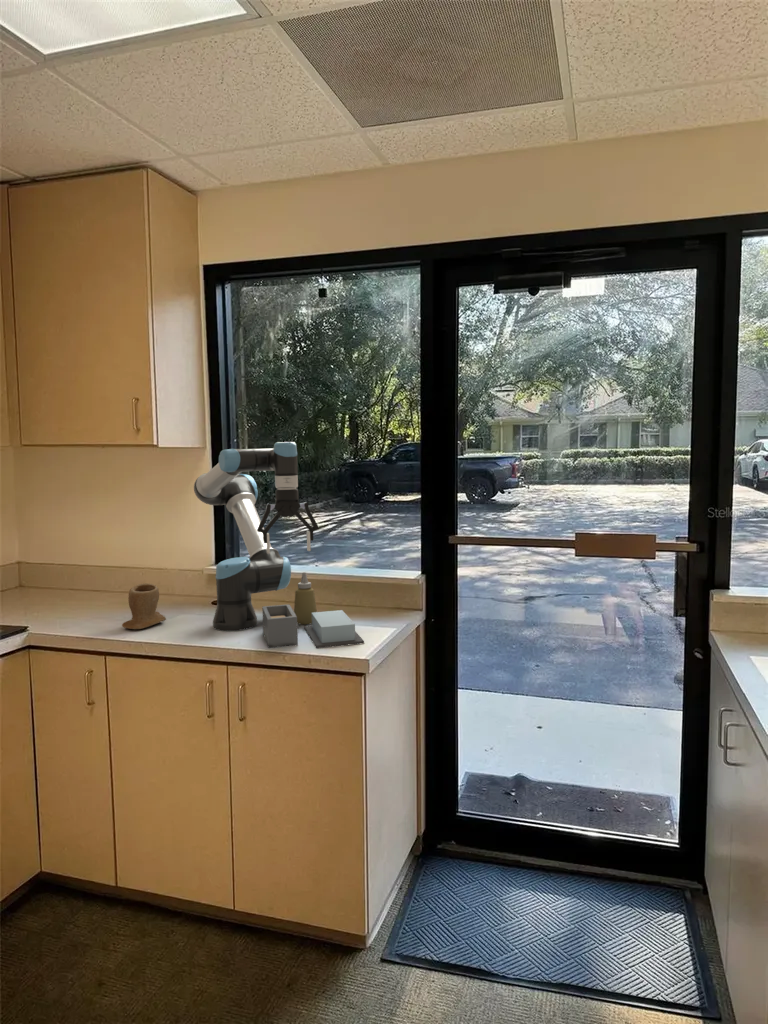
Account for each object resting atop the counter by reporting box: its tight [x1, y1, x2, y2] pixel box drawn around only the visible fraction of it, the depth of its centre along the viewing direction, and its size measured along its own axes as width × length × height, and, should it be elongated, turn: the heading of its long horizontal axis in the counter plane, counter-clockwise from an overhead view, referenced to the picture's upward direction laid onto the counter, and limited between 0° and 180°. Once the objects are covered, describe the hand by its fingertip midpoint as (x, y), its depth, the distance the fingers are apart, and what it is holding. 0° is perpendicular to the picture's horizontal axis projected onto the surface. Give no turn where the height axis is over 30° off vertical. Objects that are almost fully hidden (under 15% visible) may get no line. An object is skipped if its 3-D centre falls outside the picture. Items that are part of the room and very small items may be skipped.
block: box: [311, 609, 356, 643], centre depth 212 cm, size 20×11×5 cm, turn 15°
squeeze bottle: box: [293, 571, 318, 626], centre depth 228 cm, size 8×8×18 cm
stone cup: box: [121, 583, 166, 630], centre depth 228 cm, size 15×12×15 cm
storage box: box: [261, 604, 299, 649], centre depth 209 cm, size 18×9×9 cm, turn 16°
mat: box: [303, 625, 365, 649], centre depth 212 cm, size 24×15×1 cm, turn 16°
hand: (288, 551), depth 218 cm, fingers open, 13 cm apart
